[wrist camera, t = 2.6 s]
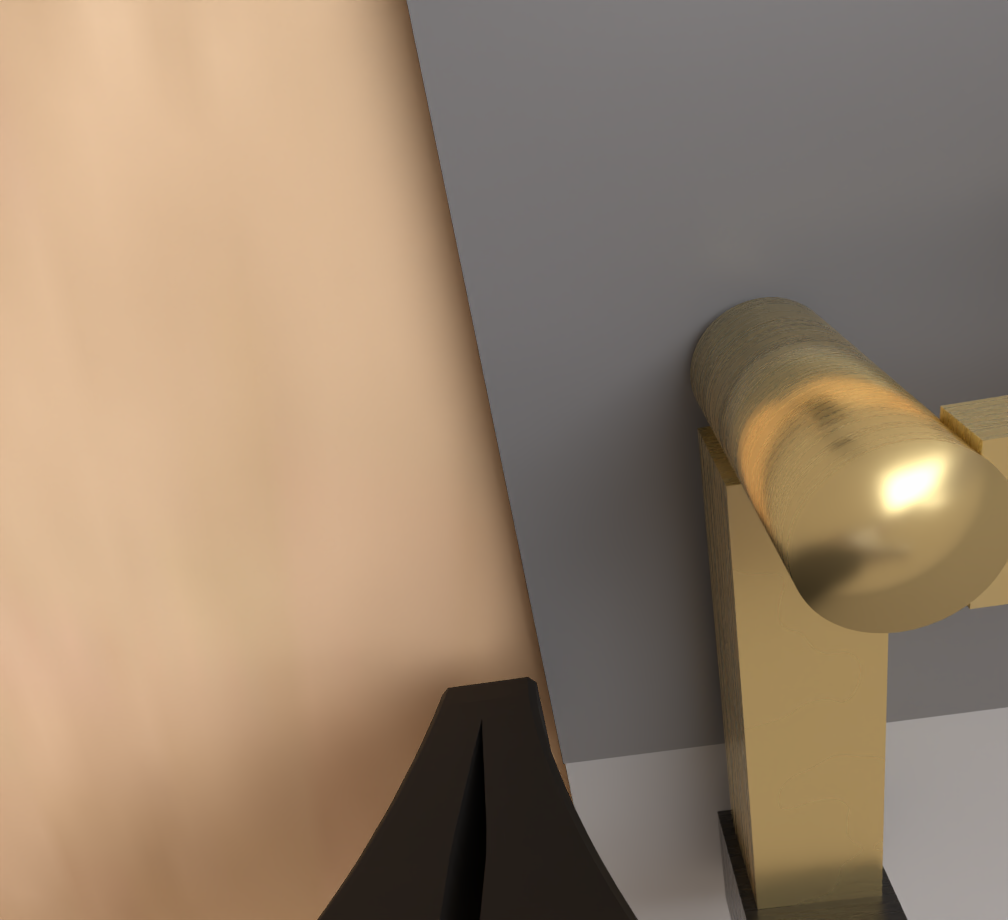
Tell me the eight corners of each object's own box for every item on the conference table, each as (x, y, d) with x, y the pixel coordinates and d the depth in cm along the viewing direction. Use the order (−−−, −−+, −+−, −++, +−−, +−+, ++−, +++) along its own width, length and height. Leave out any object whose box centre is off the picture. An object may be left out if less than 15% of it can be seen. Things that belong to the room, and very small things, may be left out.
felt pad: (1035, 679, 14) (1052, 700, 13) (999, 974, 17) (1011, 998, 17) (563, 741, 15) (565, 763, 14) (618, 1012, 18) (620, 1037, 18)
